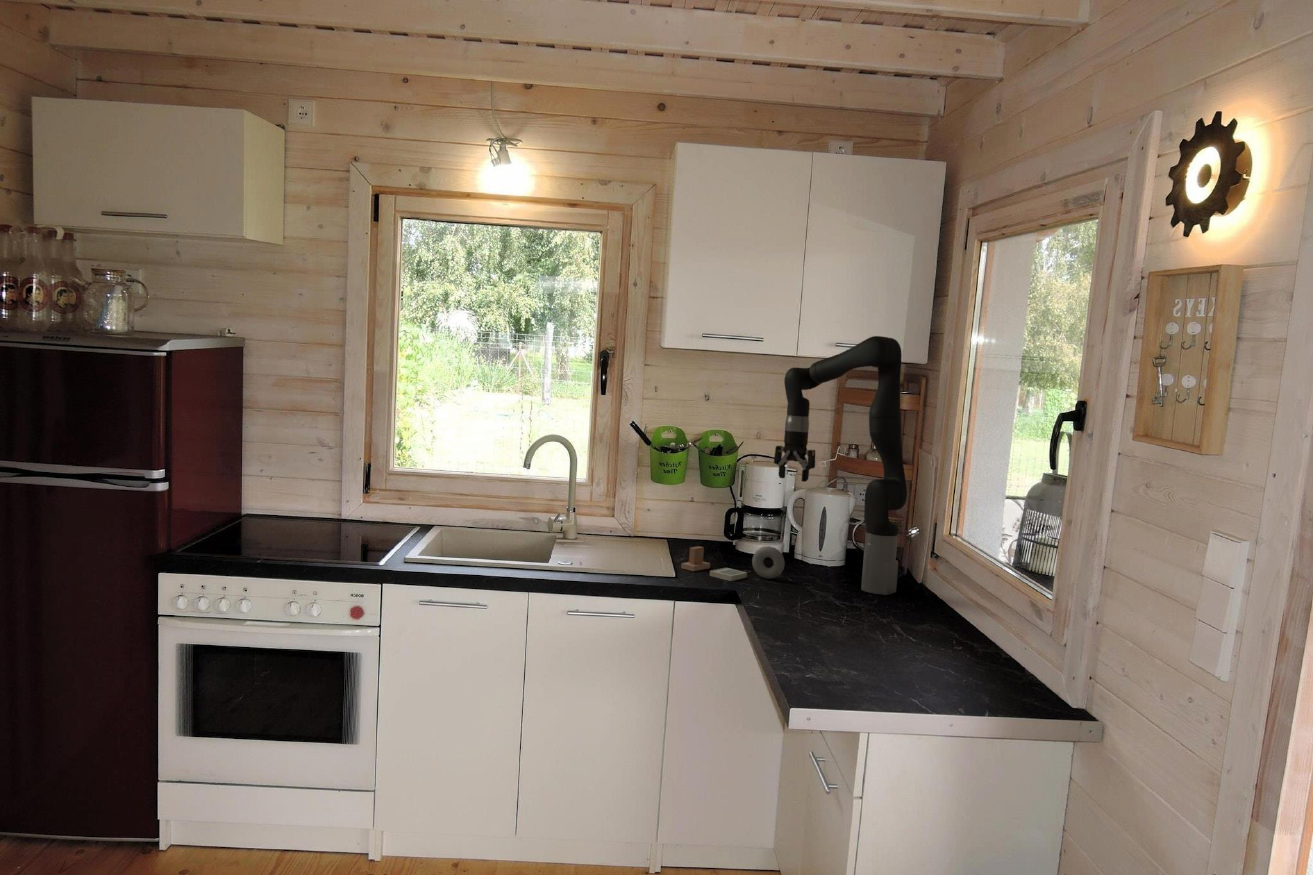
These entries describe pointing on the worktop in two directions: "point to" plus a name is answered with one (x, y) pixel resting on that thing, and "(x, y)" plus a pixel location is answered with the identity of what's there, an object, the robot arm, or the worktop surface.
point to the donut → (762, 569)
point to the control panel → (728, 574)
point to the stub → (695, 560)
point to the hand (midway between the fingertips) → (793, 479)
